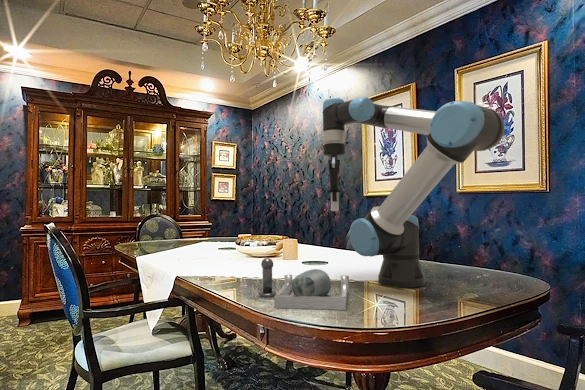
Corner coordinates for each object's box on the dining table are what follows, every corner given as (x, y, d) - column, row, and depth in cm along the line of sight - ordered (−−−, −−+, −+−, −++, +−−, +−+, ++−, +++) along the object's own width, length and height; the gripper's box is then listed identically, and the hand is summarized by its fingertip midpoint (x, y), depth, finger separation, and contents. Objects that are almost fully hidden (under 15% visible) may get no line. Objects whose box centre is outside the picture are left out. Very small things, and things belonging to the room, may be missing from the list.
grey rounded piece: (315, 295, 103) (306, 259, 108) (288, 307, 107) (280, 272, 112) (343, 298, 113) (333, 265, 118) (317, 309, 117) (309, 277, 122)
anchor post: (277, 293, 119) (277, 257, 119) (274, 297, 114) (273, 259, 114) (261, 293, 120) (261, 256, 120) (257, 297, 115) (257, 259, 115)
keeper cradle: (349, 292, 120) (348, 275, 120) (348, 310, 100) (347, 290, 100) (285, 290, 123) (285, 274, 123) (272, 307, 103) (271, 288, 103)
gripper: (324, 146, 146) (325, 210, 145) (321, 141, 133) (322, 211, 133) (345, 146, 145) (346, 210, 144) (344, 140, 132) (345, 211, 131)
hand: (334, 210), depth 138 cm, fingers closed
